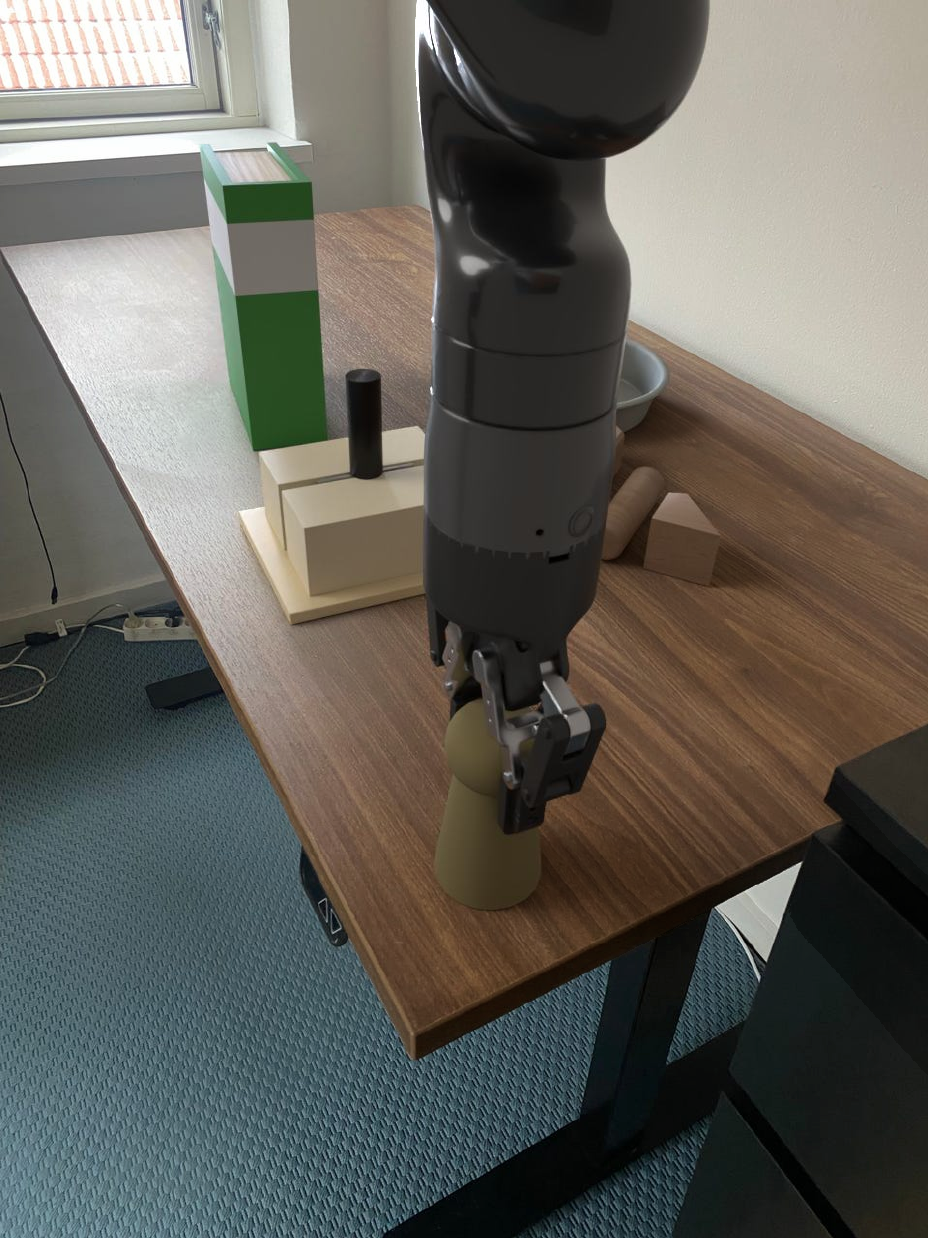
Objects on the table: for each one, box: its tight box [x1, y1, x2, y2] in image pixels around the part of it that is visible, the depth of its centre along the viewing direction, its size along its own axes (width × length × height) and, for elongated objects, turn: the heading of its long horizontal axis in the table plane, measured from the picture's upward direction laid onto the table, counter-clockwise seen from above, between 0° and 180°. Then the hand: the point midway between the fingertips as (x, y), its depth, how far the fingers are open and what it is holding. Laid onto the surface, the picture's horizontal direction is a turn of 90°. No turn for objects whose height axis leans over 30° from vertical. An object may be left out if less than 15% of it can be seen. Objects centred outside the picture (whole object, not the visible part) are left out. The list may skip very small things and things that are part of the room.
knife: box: [317, 368, 414, 484], centre depth 72 cm, size 8×3×14 cm, turn 115°
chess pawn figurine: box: [433, 698, 542, 911], centre depth 48 cm, size 6×6×11 cm
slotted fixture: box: [237, 425, 426, 625], centre depth 75 cm, size 18×16×7 cm
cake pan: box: [616, 337, 671, 434], centre depth 101 cm, size 25×25×4 cm
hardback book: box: [199, 141, 329, 451], centre depth 91 cm, size 18×7×24 cm, turn 19°
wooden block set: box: [601, 426, 721, 587], centre depth 81 cm, size 17×6×18 cm
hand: (494, 784), depth 48 cm, fingers closed on chess pawn figurine, 5 cm apart
